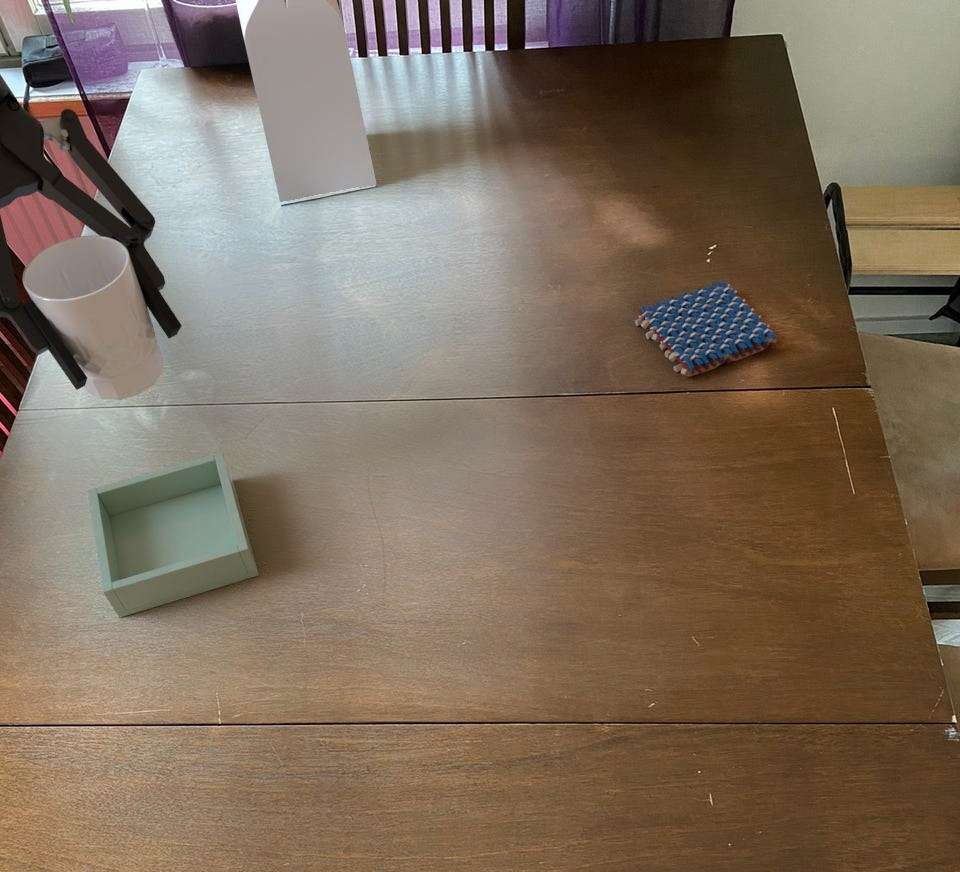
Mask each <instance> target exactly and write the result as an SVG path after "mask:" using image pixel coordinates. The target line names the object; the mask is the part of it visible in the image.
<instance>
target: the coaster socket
mask: <svg viewBox="0 0 960 872" xmlns="http://www.w3.org/2000/svg"><path fill="white" fill-rule="evenodd" d="M87 496H88V503H89V509H90V515H91V522H92V528H93V535H94V541H95V548H96V555H97V561H98V569H99V575H100V581H101V587H102V593H103V594H104V596H105V597H106V599H107V601H108V602H109V604H110V606H111V607H112V609H113V611H114V612H115V613H116V615H117V617H118V618H123V617H126V616H130V615H134V614H136V613H140V612H143V611H146V610H151V609H153V608H156V607H159V606H163V605H166V604H169V603H173V602H176V601H179V600H183V599H185V598H188V597H192V596H196V595H199V594H203V593H205V592H208V591H212V590H216V589H219V588H222V587H226V586H228V585H232V584H235V583H238V582H242V581H245V580H249V579H252V578H254V577H259V576H260V573H259V569H258V566H257V562H256V559H255V556H254V551H253V548H252V544H251V540H250V537H249V533H248V529H247V525H246V523H245V519H244V514H243V510H242V507H241V504H240V501H239V496H238V493H237V489H236V485H235V482H234V479H233V476H232V473H231V471H230V468H229V466H228V463H227V461H226V459H225V456H224V453H223V452H222V451H219V452H217V453H214V454H210V455H207V456H203V457H200V458H196V459H193V460H189V461H185V462H182V463H179V464H176V465H171V466H168V467H165V468H161V469H158V470H154V471H150V472H147V473H144V474H141V475H137V476H134V477H129V478H126V479H123V480H119V481H115V482H112V483H108V484H105V485H102V486H98V487H93V488H91V489H87Z"/></svg>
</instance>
